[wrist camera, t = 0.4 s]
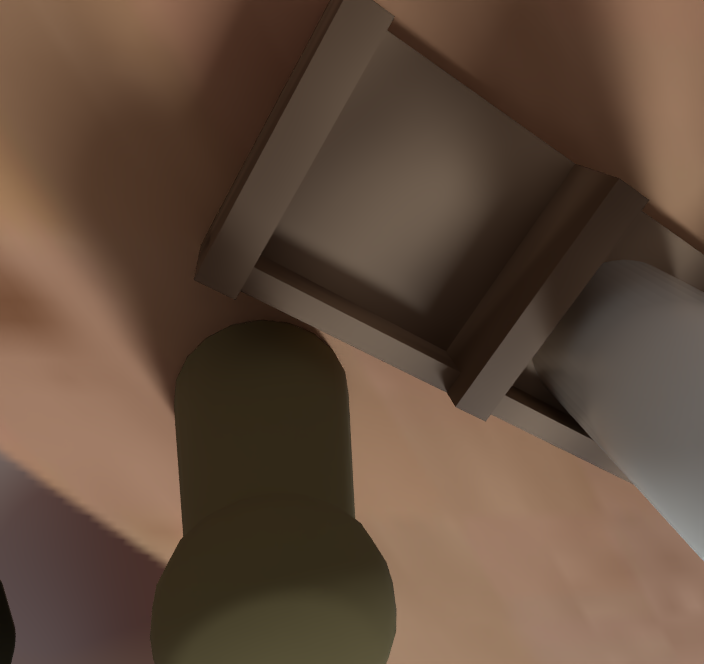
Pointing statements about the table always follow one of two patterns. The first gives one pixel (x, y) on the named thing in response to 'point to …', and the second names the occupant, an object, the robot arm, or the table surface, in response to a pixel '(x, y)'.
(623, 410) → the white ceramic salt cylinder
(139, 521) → the table surface
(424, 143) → the walnut slot rack
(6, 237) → the table surface
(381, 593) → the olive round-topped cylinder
